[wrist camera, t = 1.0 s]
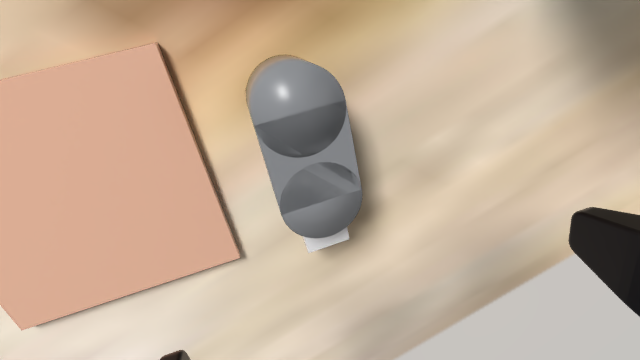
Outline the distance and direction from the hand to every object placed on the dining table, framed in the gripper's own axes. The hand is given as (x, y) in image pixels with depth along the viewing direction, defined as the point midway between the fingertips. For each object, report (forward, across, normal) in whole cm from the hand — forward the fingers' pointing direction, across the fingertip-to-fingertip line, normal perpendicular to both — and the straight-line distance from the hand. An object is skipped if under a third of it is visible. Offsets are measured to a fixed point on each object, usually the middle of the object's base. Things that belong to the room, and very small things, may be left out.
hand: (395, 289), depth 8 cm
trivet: (+13, +11, 0) cm, 17 cm away
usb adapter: (+13, 0, 0) cm, 13 cm away
